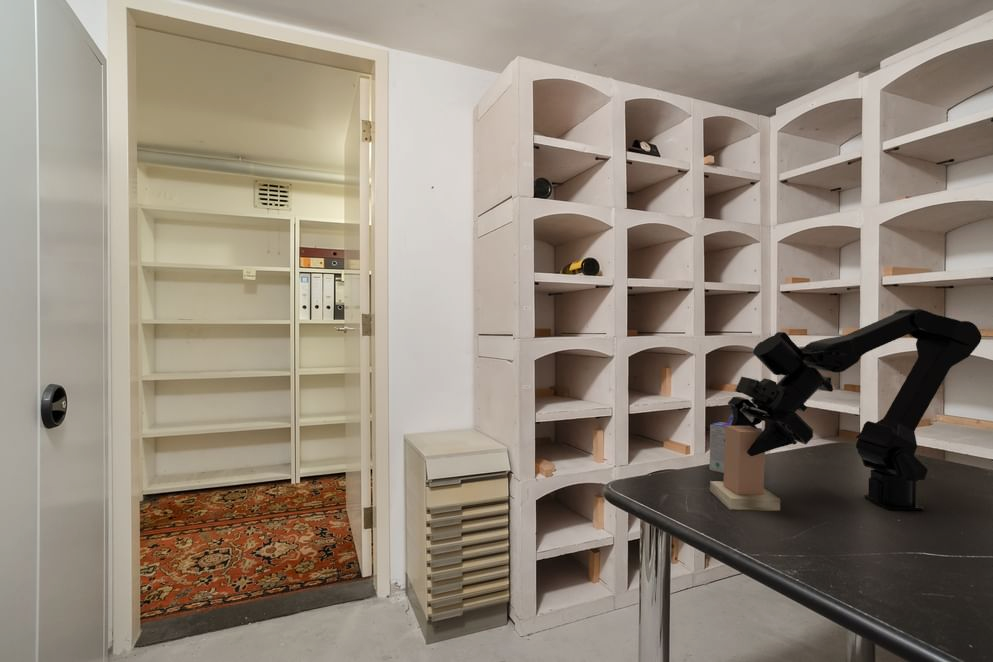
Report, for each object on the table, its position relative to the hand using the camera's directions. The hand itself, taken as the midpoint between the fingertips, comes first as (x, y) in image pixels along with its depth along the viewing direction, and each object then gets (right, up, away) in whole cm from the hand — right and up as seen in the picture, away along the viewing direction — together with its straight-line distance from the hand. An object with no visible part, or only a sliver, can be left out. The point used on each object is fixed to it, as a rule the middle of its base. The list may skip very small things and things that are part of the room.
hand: (736, 448), depth 89 cm
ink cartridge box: (+9, -11, +17) cm, 22 cm away
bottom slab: (+1, -12, 0) cm, 12 cm away
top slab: (+1, -10, 0) cm, 10 cm away
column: (+1, -8, 0) cm, 8 cm away
